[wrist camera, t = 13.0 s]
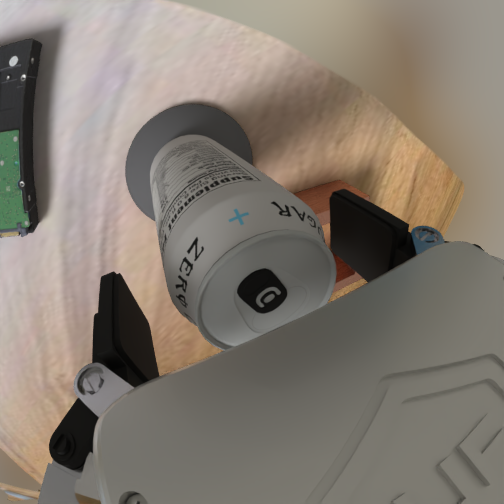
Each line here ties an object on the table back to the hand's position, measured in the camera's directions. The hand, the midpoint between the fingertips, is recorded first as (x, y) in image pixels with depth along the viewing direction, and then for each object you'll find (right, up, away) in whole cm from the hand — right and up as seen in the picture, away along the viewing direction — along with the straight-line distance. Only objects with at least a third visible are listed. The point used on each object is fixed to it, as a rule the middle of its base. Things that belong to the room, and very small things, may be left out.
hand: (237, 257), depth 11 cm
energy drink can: (-4, +6, +9) cm, 12 cm away
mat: (-4, +7, +9) cm, 12 cm away
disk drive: (-20, +9, +1) cm, 22 cm away
